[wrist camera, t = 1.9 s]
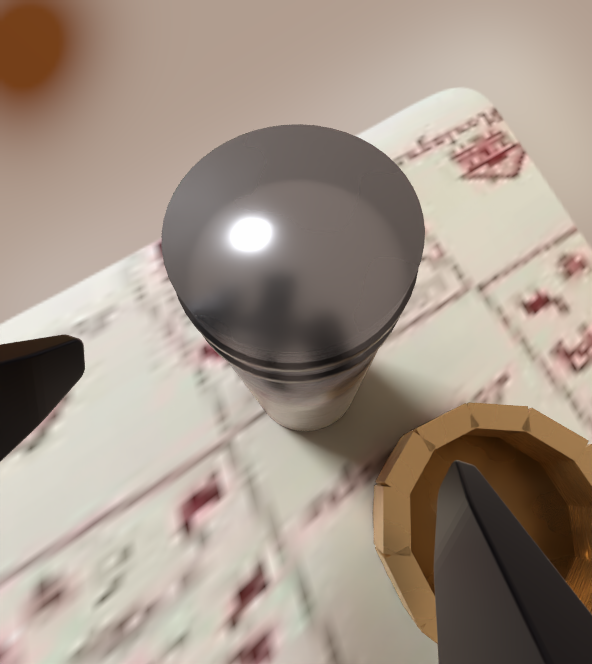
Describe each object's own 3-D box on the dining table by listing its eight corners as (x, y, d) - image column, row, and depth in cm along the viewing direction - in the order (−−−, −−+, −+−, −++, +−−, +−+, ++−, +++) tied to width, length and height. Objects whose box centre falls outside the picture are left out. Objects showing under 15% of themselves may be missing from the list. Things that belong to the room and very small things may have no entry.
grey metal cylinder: (377, 403, 19) (486, 277, 7) (279, 452, 19) (216, 407, 6) (328, 314, 21) (347, 89, 9) (237, 357, 20) (122, 179, 8)
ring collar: (640, 580, 16) (705, 601, 14) (447, 697, 15) (476, 745, 13) (504, 382, 19) (536, 366, 17) (335, 469, 18) (339, 468, 16)
